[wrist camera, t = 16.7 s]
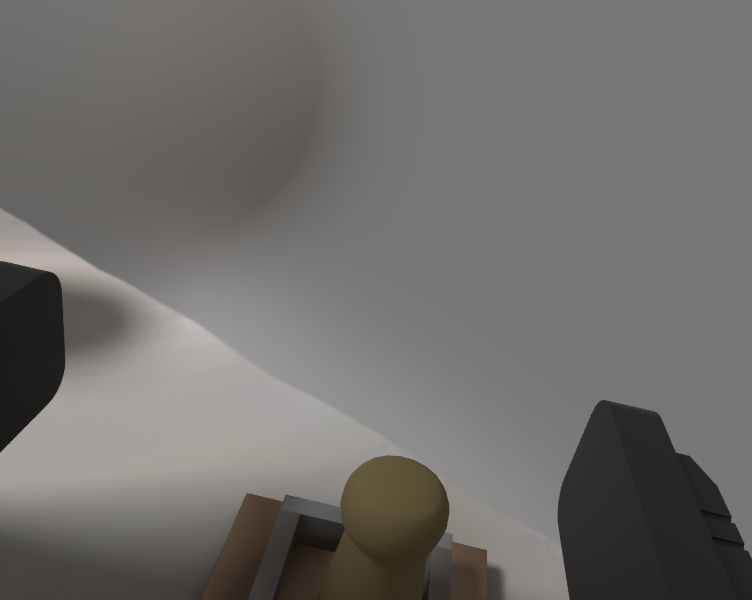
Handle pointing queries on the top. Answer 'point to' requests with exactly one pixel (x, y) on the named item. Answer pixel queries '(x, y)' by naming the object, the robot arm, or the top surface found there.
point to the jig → (319, 555)
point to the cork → (386, 531)
